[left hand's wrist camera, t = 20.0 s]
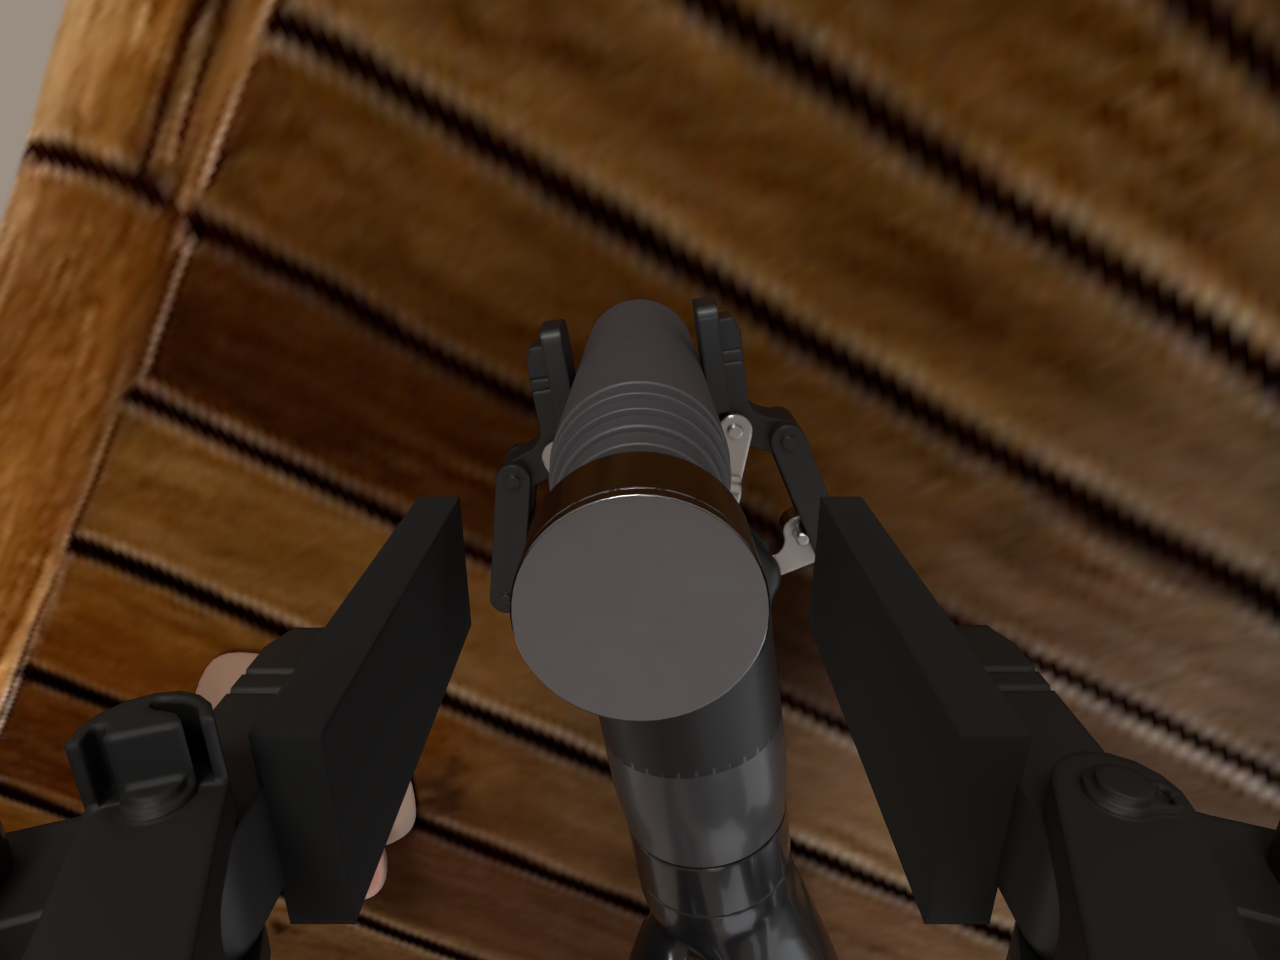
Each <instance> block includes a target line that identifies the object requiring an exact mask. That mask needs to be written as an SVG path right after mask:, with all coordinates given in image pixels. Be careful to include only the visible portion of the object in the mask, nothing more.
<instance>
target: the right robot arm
mask: <svg viewBox="0 0 1280 960" xmlns="http://www.w3.org/2000/svg"><path fill="white" fill-rule="evenodd" d="M693 311H694V319H695V327H696V334H697V342H698V350H699V358H700V365H701V368H702V371H703V373H704V376H705V379H706V382H707V385H708V388H709V391H710V394H711V397H712V400H713V402H714V405H715V408H716V411H717V414H718V417H719V420H720V423H721V426H722V429H723V431H724V434H725V437H726V440H727V444H728V448H729V454H730V465H731V488H730V492H731V493H732V494H733V496H734V497H735V499H736V500H737V502H738V503H739V501H740V497H741V490H742V476H743V471H744V467H745V463H746V458H747V454H748V450H749V447H751V448H756V449H761V450H766V451H771V452H772V454H773V457H774V459H775V462H776V464H777V467H778V469H779V472H780V474H781V476H782V479H783V481H784V484H785V486H786V489H787V491H788V494H789V496H790V498H791V501H792V503H793V506H794V507H792V508H789V509H787V510H786V511H784V512H783V514H782V515H781V517H780V520H779V525H780V536H779V538H778V539H777V541H776V542H775V543H773V544H771V545H769V544H768V543H767V542H766V541H764V540H763V539H762V538H761V537H760V536H759V535H758V534H757V533H756V532H755V531H754V530H753V529H752V528H751V527H750V526H749V527H750V530H751V534H752V537H753V540H754V543H755V546H756V549H757V552H758V555H759V558H760V561H761V564H762V568H763V571H764V574H765V577H766V580H767V584H768V589H769V595H770V618H769V627H768V630H767V634H766V637H765V641H764V643H763V646H762V648H761V650H760V652H759V655H758V656H757V658H756V660H755V661H754V663H753V664H752V666H751V668H750V669H749V670H748V671H747V673H746V674H745V675H744V676H743V678H742V679H741V680H740V681H739V682H738V683H737V684H736V685H735V686H734V687H732V688H731V689H730V690H729V691H728V692H726V693H725V694H724V695H722V696H721V697H720V698H718V699H717V700H715V701H713V702H711V703H710V704H708V705H706V706H704V707H702V708H700V709H697V710H695V711H693V712H690V713H687V714H684V715H681V716H677V717H674V718H668V719H663V720H655V721H625V720H618V719H611V718H607V717H603V716H599V718H600V723H601V727H602V732H603V737H604V741H605V746H606V751H607V756H608V760H609V765H610V769H611V774H612V779H613V782H614V786H615V789H616V792H617V795H618V798H619V800H620V803H621V806H622V808H623V810H624V813H625V815H626V819H627V822H628V825H629V830H630V835H631V840H632V844H633V849H634V854H635V859H636V863H637V870H638V874H639V879H640V883H641V887H642V891H643V893H644V896H645V899H646V901H647V904H648V906H649V909H650V911H651V912H650V913H649V914H648V916H647V917H646V919H645V920H644V922H643V924H642V926H641V928H640V930H639V932H638V935H637V937H636V940H635V942H634V945H633V948H632V951H631V954H630V957H629V960H838V959H837V956H836V953H835V950H834V947H833V945H832V942H831V940H830V937H829V935H828V933H827V930H826V928H825V926H824V924H823V922H822V920H821V918H820V916H819V913H818V911H817V909H816V907H815V905H814V903H813V901H812V899H811V897H810V895H809V892H808V890H807V888H806V886H805V883H804V881H803V879H802V877H801V875H800V873H799V871H798V870H797V868H796V866H795V864H794V862H793V860H792V858H791V848H790V838H789V829H788V820H787V811H786V803H785V784H786V768H787V765H786V746H785V737H784V729H783V720H782V710H781V700H780V690H779V681H778V672H777V662H776V653H775V644H774V635H773V625H772V616H771V605H772V601H773V598H774V595H775V593H776V591H777V589H778V587H779V585H780V581H781V575H783V574H786V573H789V572H791V571H794V570H796V569H799V568H801V567H804V566H807V565H809V564H812V563H814V561H815V551H816V540H817V529H818V518H819V507H820V497H829V496H828V493H827V491H826V488H825V486H824V483H823V481H822V478H821V475H820V473H819V470H818V468H817V465H816V463H815V460H814V457H813V455H812V452H811V450H810V447H809V445H808V442H807V439H806V437H805V434H804V433H803V431H802V430H801V428H800V427H799V425H798V424H797V422H796V421H795V419H794V418H793V416H792V415H791V413H790V412H789V411H788V410H787V409H785V408H783V407H772V408H768V407H763V406H758V405H755V404H753V403H751V402H750V401H749V400H748V398H747V389H746V379H745V370H744V361H743V351H742V342H741V332H740V330H739V328H738V326H737V324H736V322H735V320H734V319H733V317H732V315H731V314H730V313H729V311H725V312H718V310H717V305H716V301H715V300H714V298H713V297H712V296H710V297H703V298H697V299H693ZM540 339H541V340H536V341H534V342H533V343H532V345H531V346H530V348H529V351H528V357H527V363H526V365H527V370H528V374H529V379H530V384H531V388H532V392H533V398H534V403H535V407H536V412H537V417H538V421H539V426H540V435H539V436H538V437H537V438H535V439H533V440H531V441H530V442H528V443H526V444H517V445H515V446H513V447H512V448H511V449H510V450H509V452H508V454H507V456H506V459H505V463H504V465H503V466H502V467H501V468H500V470H499V472H498V474H497V477H496V491H495V511H494V531H493V551H492V570H491V590H490V601H491V604H492V605H493V607H494V608H495V609H497V610H498V611H501V612H504V613H510V596H511V589H512V584H513V581H514V577H515V574H516V571H517V568H518V565H519V561H520V558H521V555H522V552H523V549H524V546H525V543H526V540H527V537H528V534H529V530H530V527H531V524H532V521H533V519H534V517H535V504H536V490H537V484H538V483H540V482H542V481H544V480H546V479H547V478H549V465H550V454H551V448H552V444H553V440H554V437H555V434H556V432H557V429H558V426H559V423H560V420H561V417H562V414H563V411H564V408H565V405H566V403H567V400H568V397H569V394H570V391H571V388H572V385H573V382H574V379H575V376H576V372H575V367H574V362H573V357H572V351H571V346H570V341H569V335H568V330H567V326H566V322H565V320H564V319H560V320H554V321H548V322H544V324H543V325H542V326H541V328H540Z"/></svg>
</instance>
